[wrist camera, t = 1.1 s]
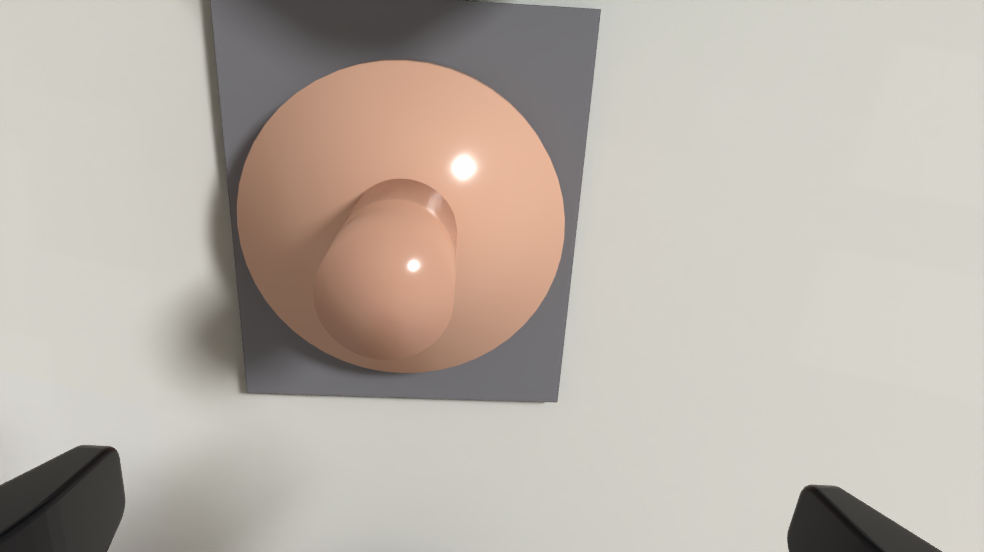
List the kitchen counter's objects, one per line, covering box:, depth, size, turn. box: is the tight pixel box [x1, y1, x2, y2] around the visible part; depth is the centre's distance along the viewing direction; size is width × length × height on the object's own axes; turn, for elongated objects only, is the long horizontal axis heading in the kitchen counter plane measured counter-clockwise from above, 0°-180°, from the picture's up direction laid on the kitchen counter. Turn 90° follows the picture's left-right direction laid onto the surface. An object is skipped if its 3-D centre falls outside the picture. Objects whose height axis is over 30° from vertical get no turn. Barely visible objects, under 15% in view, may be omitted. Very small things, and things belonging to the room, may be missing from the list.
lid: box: [237, 59, 565, 373], centre depth 17 cm, size 9×9×6 cm
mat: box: [210, 0, 601, 402], centre depth 19 cm, size 12×10×1 cm
